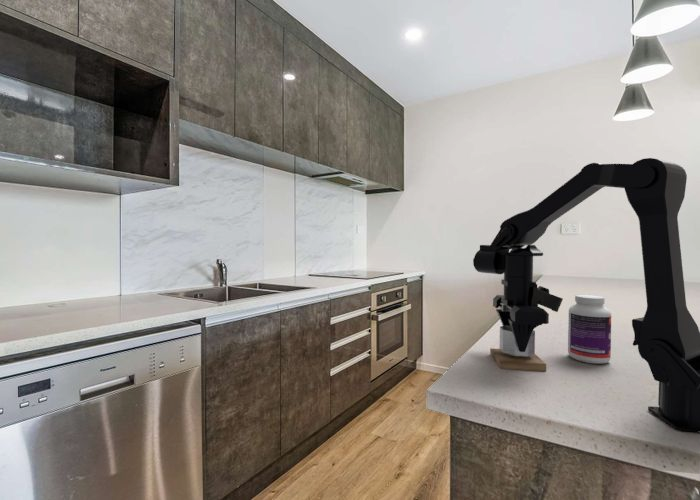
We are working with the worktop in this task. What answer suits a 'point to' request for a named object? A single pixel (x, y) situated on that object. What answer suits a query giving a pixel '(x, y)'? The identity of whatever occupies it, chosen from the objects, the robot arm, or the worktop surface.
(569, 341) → the pill bottle
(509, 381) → the worktop surface
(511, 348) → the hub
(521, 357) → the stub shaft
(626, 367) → the worktop surface
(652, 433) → the worktop surface
